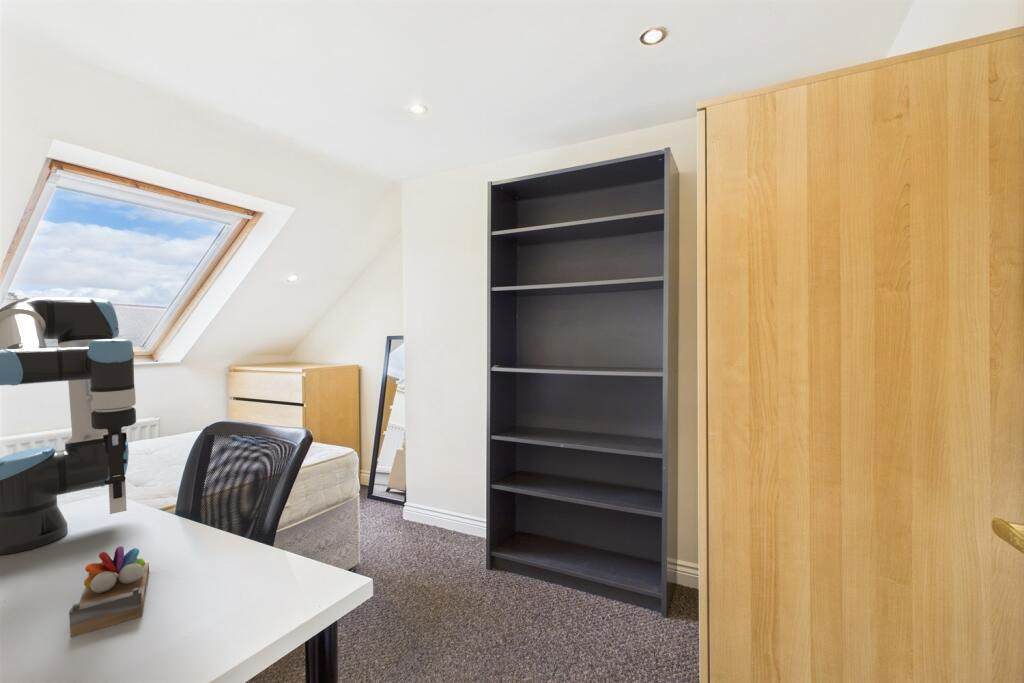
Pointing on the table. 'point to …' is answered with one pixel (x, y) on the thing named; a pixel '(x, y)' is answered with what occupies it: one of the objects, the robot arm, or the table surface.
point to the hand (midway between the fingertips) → (117, 502)
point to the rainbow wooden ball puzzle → (114, 570)
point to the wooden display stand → (109, 605)
